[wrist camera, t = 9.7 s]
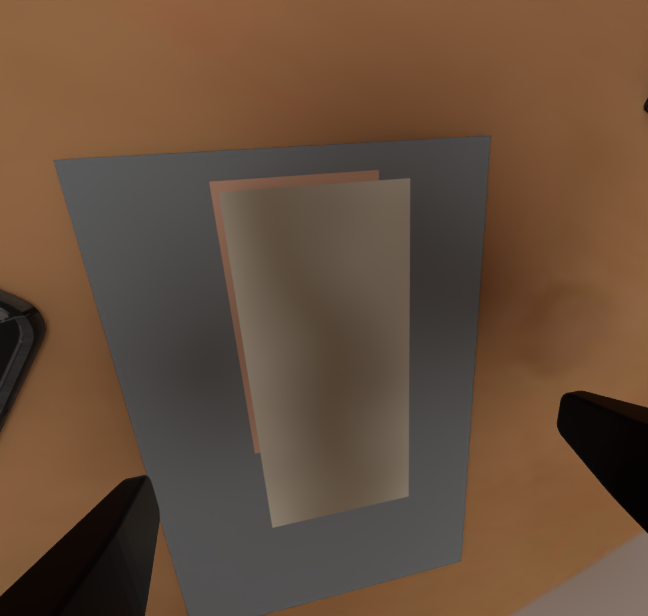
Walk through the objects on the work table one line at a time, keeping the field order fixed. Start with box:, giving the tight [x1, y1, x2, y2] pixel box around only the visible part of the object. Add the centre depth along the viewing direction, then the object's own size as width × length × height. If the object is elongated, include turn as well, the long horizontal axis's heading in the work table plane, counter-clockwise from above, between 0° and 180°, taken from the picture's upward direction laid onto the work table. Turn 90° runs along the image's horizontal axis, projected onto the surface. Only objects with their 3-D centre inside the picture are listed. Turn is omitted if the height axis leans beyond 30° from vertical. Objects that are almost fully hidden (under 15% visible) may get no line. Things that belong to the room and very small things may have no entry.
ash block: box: [219, 178, 410, 528], centre depth 13 cm, size 5×11×4 cm, turn 5°
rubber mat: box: [54, 136, 491, 616], centre depth 17 cm, size 24×16×1 cm, turn 5°
